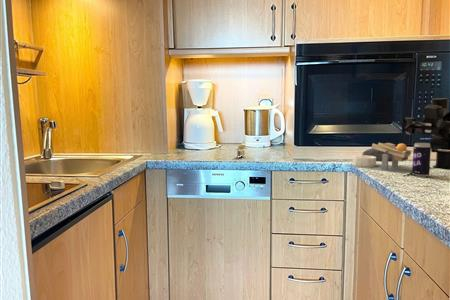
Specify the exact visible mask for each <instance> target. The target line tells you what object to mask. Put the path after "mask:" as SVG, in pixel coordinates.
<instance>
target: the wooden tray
mask: <svg viewBox="0 0 450 300" xmlns="http://www.w3.org/2000/svg"><path fill="white" fill-rule="evenodd" d="M372 148H373V149H376V150H380V151H383V152H385V153H389V154H392V155H394V159H396V160H398V162H399V161H400V162H403V161H408V160H409V157H411V155H412V152H413V151H412V150H413V149H407V150H404V151H402V152H400V151H397V149H396V148H397V146H396V144H394V143H391V142H385V143H382V142H378V143H377V144H376V143H372V145H371V149H372Z"/></svg>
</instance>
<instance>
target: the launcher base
mask: <svg viewBox="0 0 450 300" xmlns="http://www.w3.org/2000/svg"><path fill="white" fill-rule="evenodd" d="M388 156H389V155H387V154H382V161H381V164H380V163H376V166H374V167H360V166H354V165H353V163H351V164H346V165H345V166H346V167H351V168H360V169H364V170H365V169H367V170H374V171H382V172H387V173H389V172H390V173H396V174H402V177H406V176H409V175H414V174H413V173H412V167H408V166H407V167H406V166H399V160H396V159H394V155H392V161H391V164H389V161H388Z"/></svg>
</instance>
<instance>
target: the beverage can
mask: <svg viewBox="0 0 450 300" xmlns="http://www.w3.org/2000/svg"><path fill="white" fill-rule="evenodd" d="M412 150H413V151H412V167H411V168H412V171H411V173H413V174H412V175H414V176H415V177H423V178H425V177H427V176H428V175H430V169H431V155H432V154H431V153H432V152H431V143H430V142H429V143H428V142H414V145H413V149H412Z"/></svg>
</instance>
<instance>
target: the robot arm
mask: <svg viewBox="0 0 450 300" xmlns="http://www.w3.org/2000/svg"><path fill="white" fill-rule="evenodd" d="M422 110H423V118H422V120H421V121H417V120H416V118H415V117H404V118H402V124H401V125H402V127H401V133H402V134H405V135H413V134H415V132H416V129H420V130H421V134H422V135H426V136H427V135H428V136H432V138H431V139H430V146H431V153H436V156H435V157H436V159H435V164H434V165H432V168H437V169H438V168H439V169H447V170H450V111H449V98H447V97H444V98H443V97H442V98H439V97H438V98H431V104H427V105H426V106H425V107H424V108H423V109H422Z"/></svg>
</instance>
